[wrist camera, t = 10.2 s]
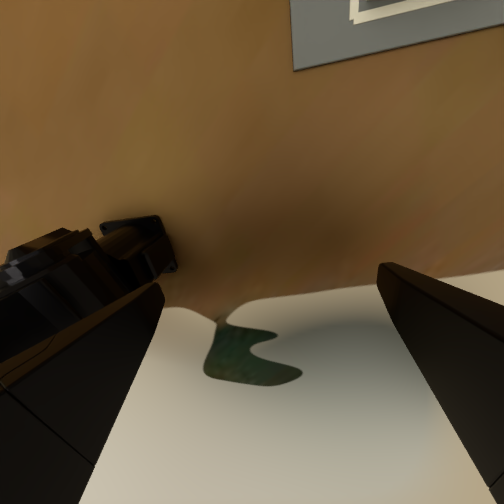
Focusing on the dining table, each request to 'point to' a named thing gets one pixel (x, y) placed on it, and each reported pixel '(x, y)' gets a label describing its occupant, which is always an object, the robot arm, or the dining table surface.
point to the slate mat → (380, 25)
